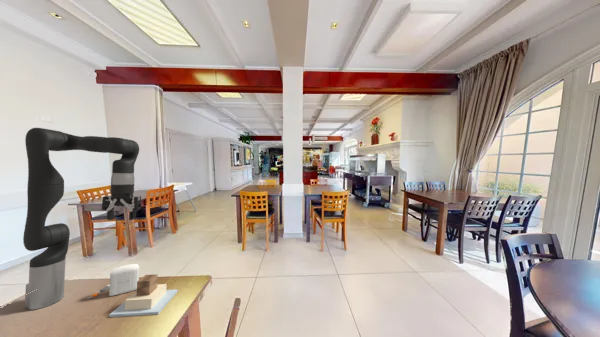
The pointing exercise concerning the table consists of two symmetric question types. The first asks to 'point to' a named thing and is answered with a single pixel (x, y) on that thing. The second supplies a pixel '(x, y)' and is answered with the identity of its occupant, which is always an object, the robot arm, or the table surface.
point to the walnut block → (146, 285)
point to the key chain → (101, 291)
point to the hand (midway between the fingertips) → (121, 219)
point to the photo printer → (124, 279)
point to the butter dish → (145, 303)
